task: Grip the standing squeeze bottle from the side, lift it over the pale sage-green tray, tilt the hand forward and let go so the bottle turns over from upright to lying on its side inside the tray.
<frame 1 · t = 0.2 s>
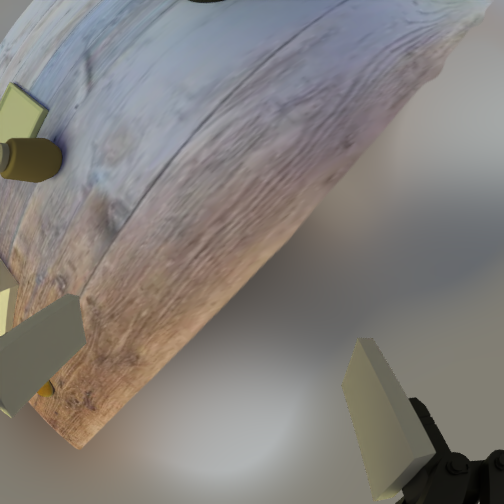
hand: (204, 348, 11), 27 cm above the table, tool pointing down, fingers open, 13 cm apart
tray: (14, 124, 38), on the table
bread roll: (44, 379, 50), on the table
squeeze bottle: (53, 161, 39), on the table
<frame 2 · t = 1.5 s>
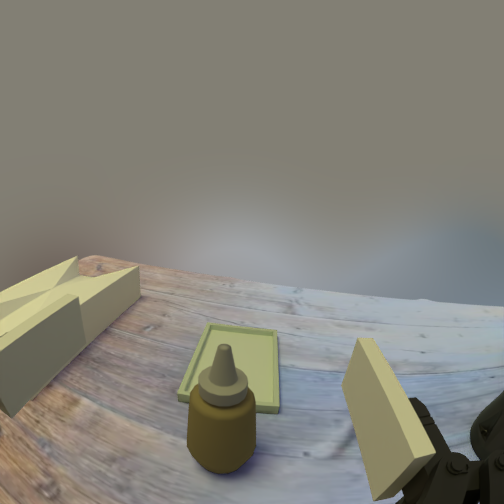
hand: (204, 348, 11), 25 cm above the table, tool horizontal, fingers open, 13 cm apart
tray: (235, 365, 47), on the table
squeeze bottle: (220, 457, 27), on the table
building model: (61, 327, 49), on the table
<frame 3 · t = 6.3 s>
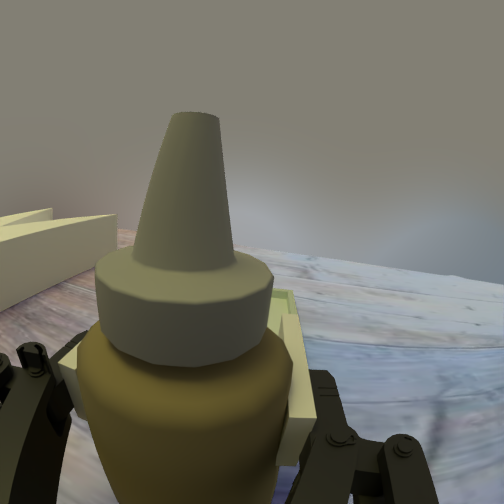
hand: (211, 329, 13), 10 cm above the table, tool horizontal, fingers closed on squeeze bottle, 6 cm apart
tray: (231, 333, 30), on the table
squeeze bottle: (194, 500, 10), on the table, touching gripper
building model: (7, 281, 32), on the table
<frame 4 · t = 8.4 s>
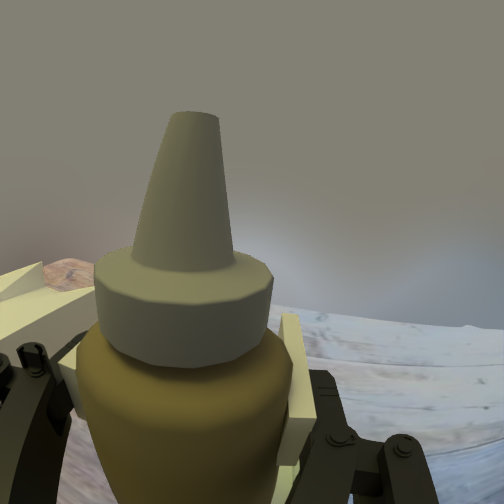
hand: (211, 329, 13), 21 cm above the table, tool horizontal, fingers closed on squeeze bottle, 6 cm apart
tray: (231, 457, 24), on the table
squeeze bottle: (194, 501, 10), point 11 cm above the table, touching gripper
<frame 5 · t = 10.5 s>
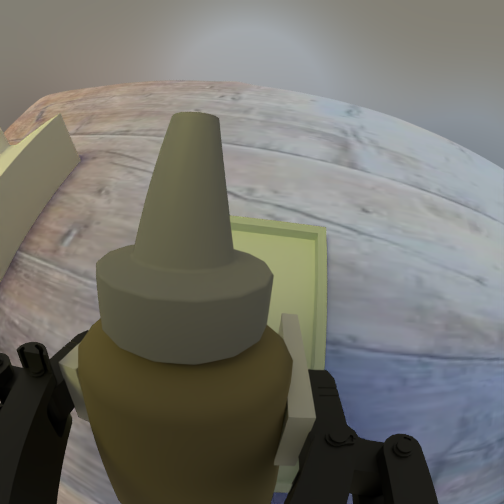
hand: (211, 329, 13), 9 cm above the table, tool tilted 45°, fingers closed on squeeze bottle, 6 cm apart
tray: (227, 345, 21), on the table
squeeze bottle: (195, 499, 10), point 6 cm above the table, touching gripper
when the fingers open (9 cm above the table, at t = 10.8 s): squeeze bottle moves 5 cm, resting on tray.
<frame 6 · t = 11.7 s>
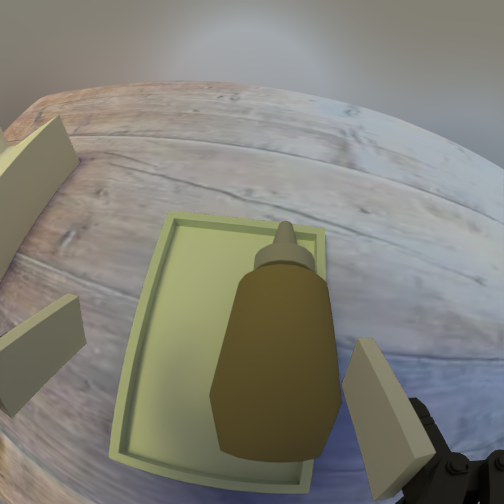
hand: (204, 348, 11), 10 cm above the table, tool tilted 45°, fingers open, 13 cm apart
tray: (226, 346, 21), on the table
squeeze bottle: (269, 460, 13), point 5 cm above the table, touching tray
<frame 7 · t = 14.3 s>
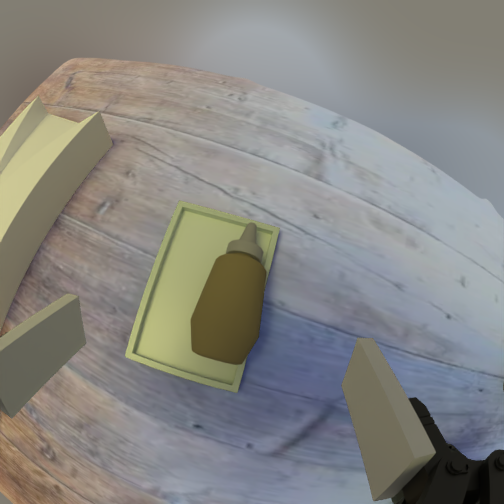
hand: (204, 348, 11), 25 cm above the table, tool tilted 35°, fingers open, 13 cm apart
tray: (204, 293, 36), on the table
squeeze bottle: (215, 361, 29), point 5 cm above the table, touching tray
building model: (13, 221, 36), on the table
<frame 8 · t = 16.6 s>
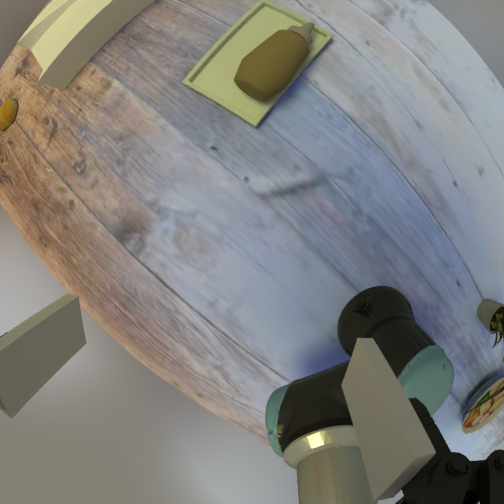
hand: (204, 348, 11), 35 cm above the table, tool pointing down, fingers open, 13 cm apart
tray: (259, 57, 38), on the table
bread roll: (10, 114, 42), on the table
squeeze bottle: (248, 91, 35), point 5 cm above the table, touching tray
ramen bowl: (480, 392, 52), on the table
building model: (116, 1, 35), on the table
house plant: (486, 304, 45), on the table
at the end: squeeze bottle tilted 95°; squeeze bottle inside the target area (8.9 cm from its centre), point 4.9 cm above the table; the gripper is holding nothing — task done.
